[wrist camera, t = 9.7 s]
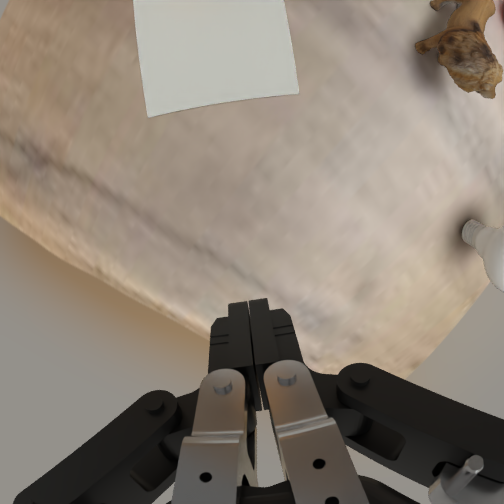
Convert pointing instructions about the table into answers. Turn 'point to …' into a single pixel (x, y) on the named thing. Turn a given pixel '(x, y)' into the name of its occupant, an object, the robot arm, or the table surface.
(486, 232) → the lightbulb
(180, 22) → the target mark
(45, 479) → the robot arm
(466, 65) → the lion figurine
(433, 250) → the table surface
